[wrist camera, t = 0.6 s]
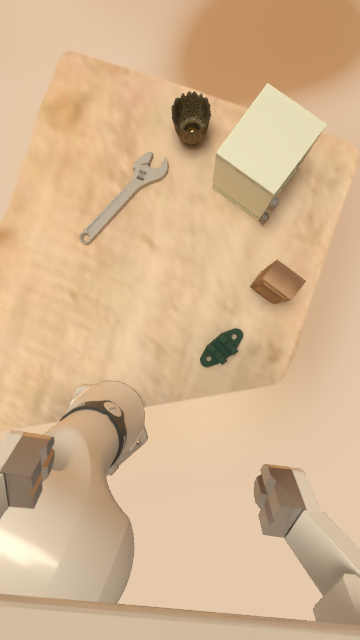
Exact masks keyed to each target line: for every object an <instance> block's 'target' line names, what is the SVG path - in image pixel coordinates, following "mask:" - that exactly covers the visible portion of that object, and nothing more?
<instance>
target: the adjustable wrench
mask: <svg viewBox="0 0 360 640" xmlns="http://www.w3.org/2000/svg"><path fill="white" fill-rule="evenodd" d="M152 158H153V153H152V152H148V153H146V154H144V155H143V156H141V157H140V158H139V159H138V161H137V162H134V166H133V169H134V170H135V171H134V176H133V178H132V180H131V181H130V183H129V184H128V185H127V186H126V187H125V188H124V189H123V190H122V191H121V192H120V193H119V194H118V195H117V196H116V197H115V198H114V199H113V200H112V201H111V202H110V204H109V205H108V206H107V207H106V208H105V209H104V210H103V211H102V212H101V213H100V214H99V215H98V216H97V217H96V218H95V219H94V220H93V221H92V222H91V223H90V224H89V225H88V226H87V227H86V228H85V229H84V231H83V232H82V233H81V234H80V236H79V239H80V241H81V242H82V243H84V244H90V243H91V242H92V241H93V240H94V239H95V238H96V237H97V236H98V235H99V234H100V232H101V231H102V230H103V229H104V228H105V227H106V226H107V225H108V224H109V223H110V222H111V220H112V219H113V218H114V217H115V216H116V215H117V214H118V213H119V212H120V211H121V210H122V208H123V207H124V206H125V205H126V204H127V203H128V202H129V201H130V200H131V199H132V198H133V196H134V195H135V194H136V193H137V192H138V191H139V190H141V189H142V188H144V187H146V186H148V185H150V184H153V183H156V182H158V181H161V180H162V179H164V178H165V176H166V175H167V172H168V163H167V159H166V158H165V157H164V160H163V162H162V165H161V167H160V168H156V169H152V168H150V167H149V166H150V163H151V161H152ZM86 234H87V235H89V236H90V240H89V241H88V242H85V241H84V240H83V236H84V235H86Z"/></svg>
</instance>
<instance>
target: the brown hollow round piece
mask: <svg viewBox="0 0 360 640" xmlns="http://www.w3.org/2000/svg"><path fill="white" fill-rule="evenodd" d="M210 116H211V114H210V104H209V102H208V98H203V96H202V94H200V95H199V97H198V95H197V94H196V92H193V93H191V92H190V91H189V92H188V93H187V95H186V97H185V95H184V93H183V94H182V96H181V98H176V99H175V101H174V105H172V120H173V123H174V126H175V129H176V132H177V134H178V136H179V138H180V139H181V140H182V141H184V142H185V143H187V144H189V145H194V144H196V143H197V142H199V141H200V140H202V138H203V137H204V136H205V134H206V132H207V129H208V125H209V120H210Z"/></svg>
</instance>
